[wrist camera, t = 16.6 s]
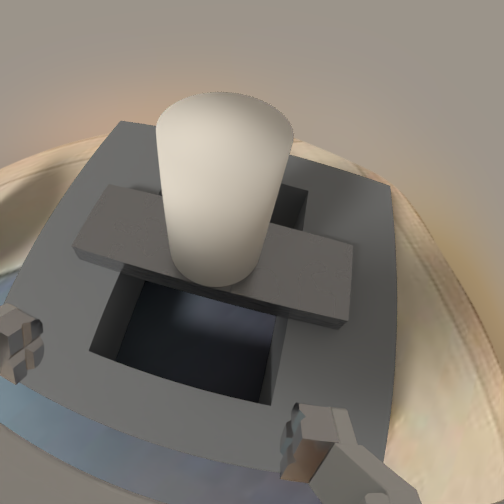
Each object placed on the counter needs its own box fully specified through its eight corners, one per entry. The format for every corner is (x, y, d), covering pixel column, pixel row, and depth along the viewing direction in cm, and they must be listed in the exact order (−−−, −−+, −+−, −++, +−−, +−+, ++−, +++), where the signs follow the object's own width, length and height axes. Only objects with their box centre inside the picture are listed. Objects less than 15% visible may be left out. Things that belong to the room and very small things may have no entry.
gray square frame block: (367, 220, 29) (389, 186, 25) (344, 471, 17) (380, 478, 13) (127, 161, 29) (120, 120, 25) (19, 375, 17) (-18, 357, 13)
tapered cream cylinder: (267, 221, 19) (299, 106, 12) (250, 297, 16) (284, 187, 9) (186, 202, 19) (184, 85, 12) (157, 273, 16) (132, 155, 9)
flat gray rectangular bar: (344, 257, 20) (353, 245, 19) (337, 329, 18) (348, 320, 16) (112, 198, 20) (108, 183, 19) (79, 259, 18) (71, 246, 16)
